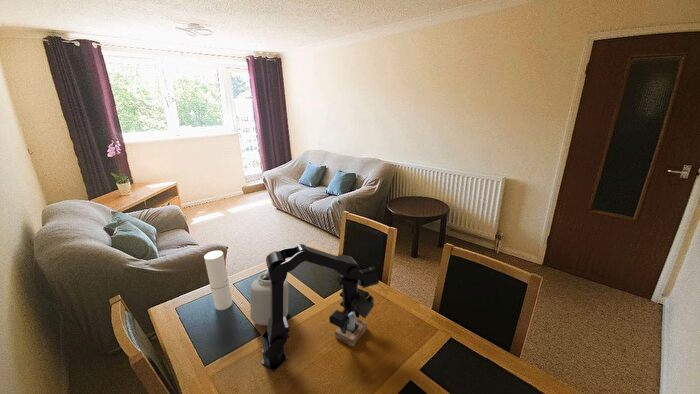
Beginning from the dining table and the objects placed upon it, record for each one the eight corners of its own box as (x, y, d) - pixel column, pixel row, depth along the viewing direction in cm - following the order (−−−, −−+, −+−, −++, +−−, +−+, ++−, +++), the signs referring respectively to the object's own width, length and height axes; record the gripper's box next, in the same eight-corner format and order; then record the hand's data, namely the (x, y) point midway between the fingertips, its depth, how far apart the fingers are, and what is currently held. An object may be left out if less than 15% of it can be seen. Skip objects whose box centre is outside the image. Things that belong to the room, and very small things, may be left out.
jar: (270, 297, 128) (263, 248, 120) (299, 303, 124) (294, 253, 116) (244, 327, 111) (234, 273, 103) (276, 336, 107) (268, 280, 99)
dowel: (352, 337, 105) (351, 318, 102) (345, 334, 107) (345, 315, 104) (356, 332, 108) (356, 313, 105) (350, 329, 109) (349, 310, 106)
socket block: (353, 346, 101) (353, 340, 100) (335, 337, 105) (334, 331, 105) (367, 328, 109) (367, 322, 108) (349, 320, 113) (349, 314, 112)
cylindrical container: (235, 299, 128) (226, 250, 120) (227, 310, 121) (217, 259, 113) (220, 298, 129) (210, 250, 120) (211, 309, 122) (200, 259, 114)
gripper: (355, 314, 89) (356, 352, 94) (382, 283, 104) (381, 318, 109) (327, 302, 95) (329, 338, 100) (356, 274, 110) (357, 307, 115)
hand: (351, 325), depth 106 cm, fingers open, 9 cm apart
